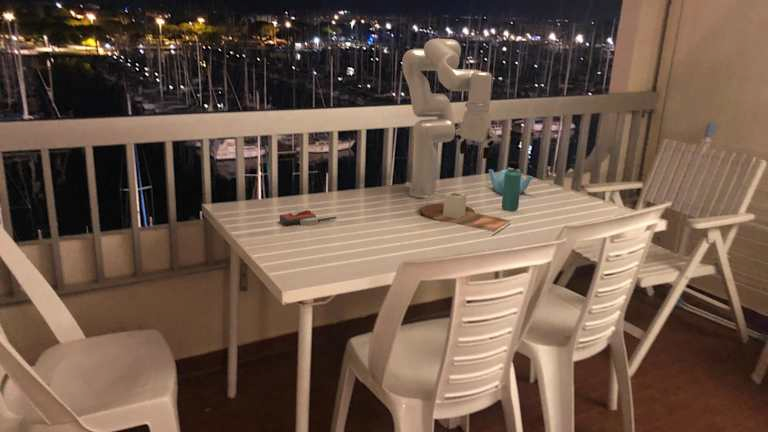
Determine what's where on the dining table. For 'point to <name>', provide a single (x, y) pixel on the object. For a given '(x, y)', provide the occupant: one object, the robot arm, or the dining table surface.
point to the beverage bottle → (511, 188)
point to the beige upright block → (454, 205)
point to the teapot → (499, 181)
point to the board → (477, 221)
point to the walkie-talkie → (301, 218)
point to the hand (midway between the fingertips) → (474, 155)
